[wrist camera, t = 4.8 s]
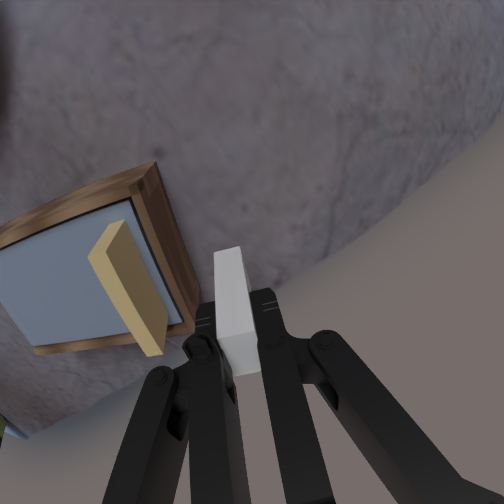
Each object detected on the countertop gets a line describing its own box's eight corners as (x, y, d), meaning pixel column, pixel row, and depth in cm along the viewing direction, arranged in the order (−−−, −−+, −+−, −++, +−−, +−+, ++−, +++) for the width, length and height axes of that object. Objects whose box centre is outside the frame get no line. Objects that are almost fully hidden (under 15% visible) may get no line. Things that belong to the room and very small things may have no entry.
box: (54, 317, 27) (36, 354, 22) (2, 225, 21) (-30, 256, 15) (199, 285, 27) (198, 331, 22) (155, 161, 20) (136, 183, 15)
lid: (36, 339, 22) (19, 376, 18) (-18, 256, 17) (-47, 289, 13) (183, 313, 22) (179, 362, 18) (132, 194, 17) (108, 229, 13)
